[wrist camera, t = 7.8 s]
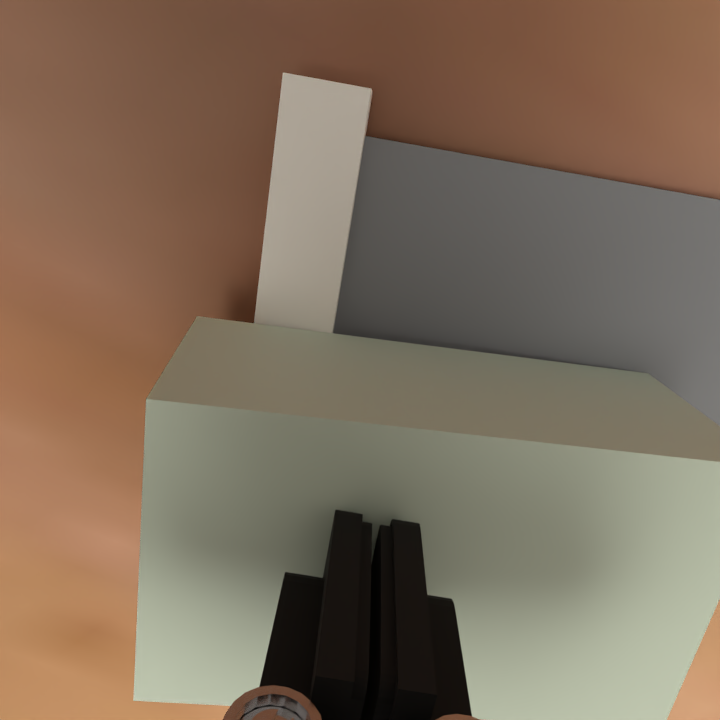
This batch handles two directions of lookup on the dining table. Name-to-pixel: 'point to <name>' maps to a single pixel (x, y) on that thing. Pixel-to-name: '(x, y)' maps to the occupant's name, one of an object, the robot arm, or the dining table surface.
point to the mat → (534, 266)
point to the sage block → (429, 512)
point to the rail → (310, 201)
